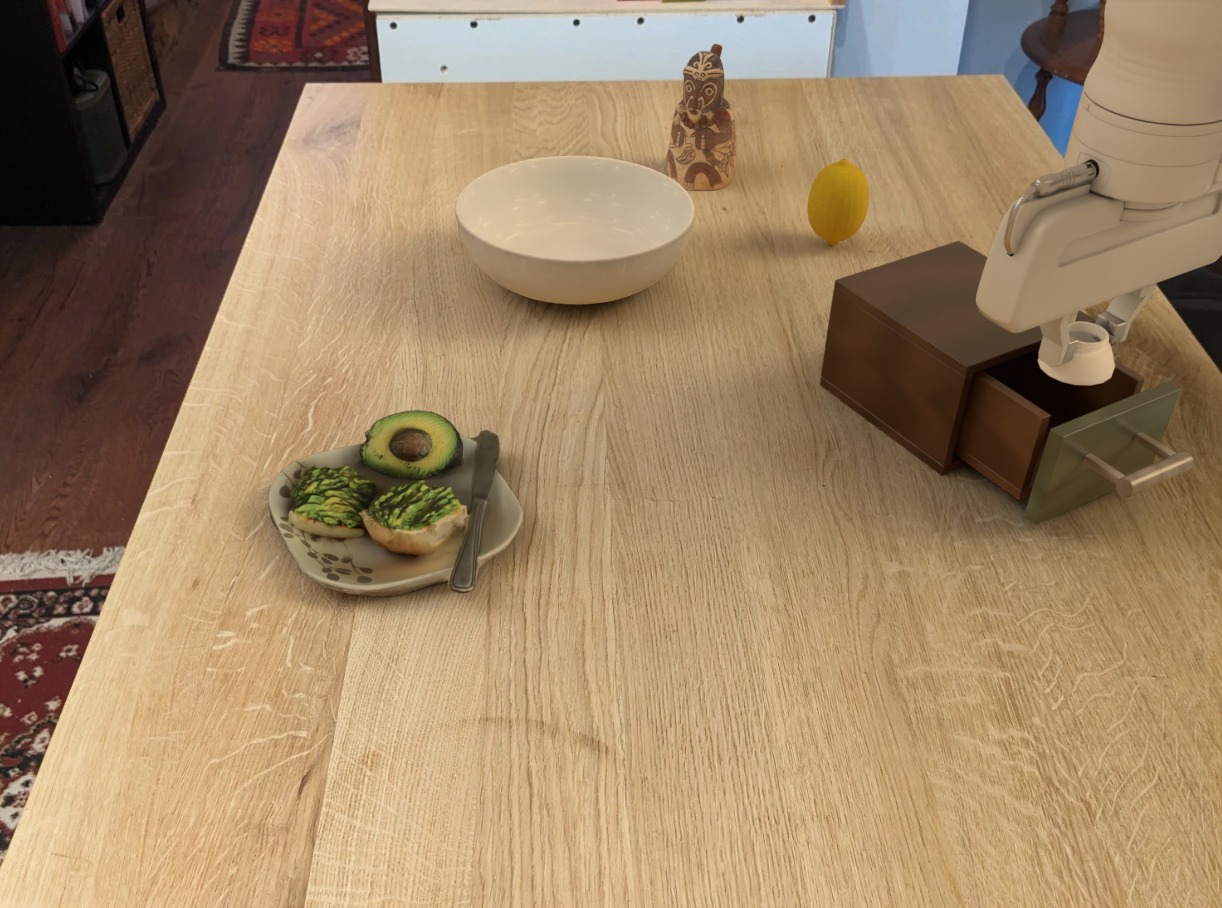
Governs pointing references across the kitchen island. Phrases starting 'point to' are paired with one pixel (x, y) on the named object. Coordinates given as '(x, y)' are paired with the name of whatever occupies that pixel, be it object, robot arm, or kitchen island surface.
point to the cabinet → (916, 347)
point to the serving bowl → (575, 227)
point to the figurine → (703, 127)
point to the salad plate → (397, 508)
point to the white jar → (1085, 357)
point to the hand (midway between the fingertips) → (1081, 350)
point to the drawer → (1067, 435)
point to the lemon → (838, 201)
